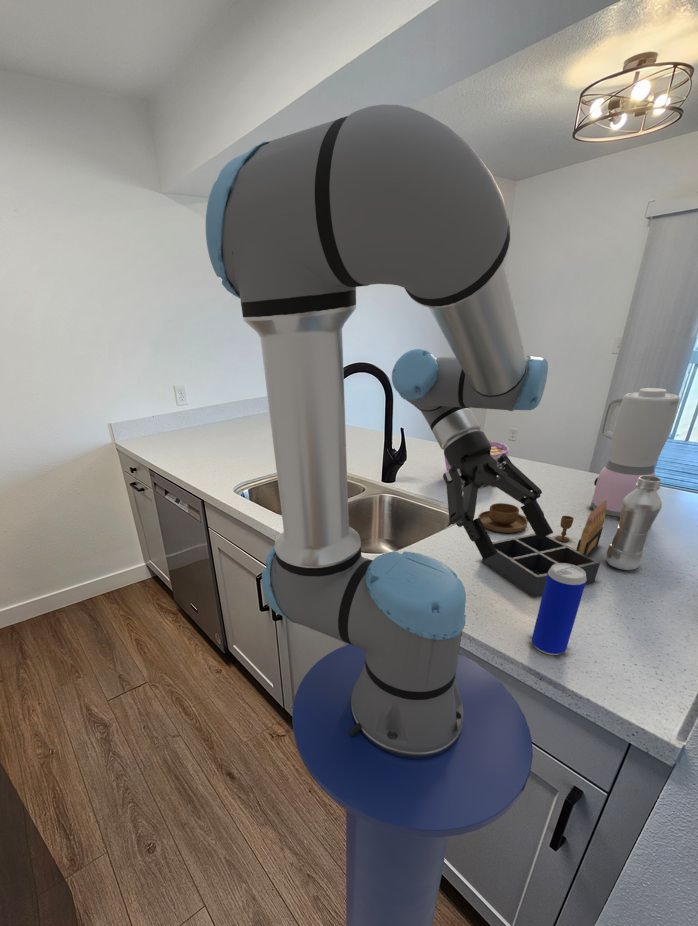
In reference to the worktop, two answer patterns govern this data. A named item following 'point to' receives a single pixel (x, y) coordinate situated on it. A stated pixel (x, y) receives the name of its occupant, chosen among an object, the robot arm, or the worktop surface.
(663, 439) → the blender
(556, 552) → the tray
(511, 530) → the place setting
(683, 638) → the worktop surface
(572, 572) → the beverage can
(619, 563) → the silver metal bottle
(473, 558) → the worktop surface
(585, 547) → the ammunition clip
